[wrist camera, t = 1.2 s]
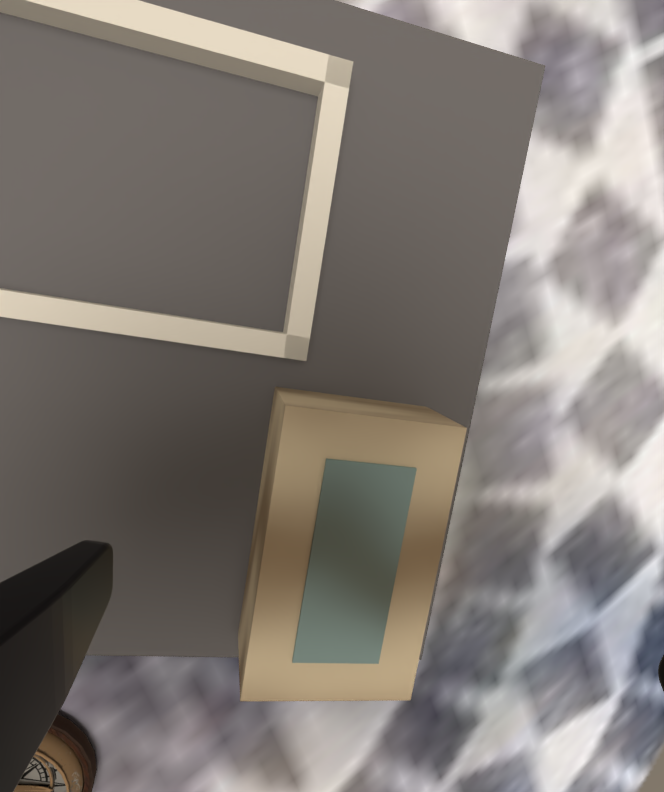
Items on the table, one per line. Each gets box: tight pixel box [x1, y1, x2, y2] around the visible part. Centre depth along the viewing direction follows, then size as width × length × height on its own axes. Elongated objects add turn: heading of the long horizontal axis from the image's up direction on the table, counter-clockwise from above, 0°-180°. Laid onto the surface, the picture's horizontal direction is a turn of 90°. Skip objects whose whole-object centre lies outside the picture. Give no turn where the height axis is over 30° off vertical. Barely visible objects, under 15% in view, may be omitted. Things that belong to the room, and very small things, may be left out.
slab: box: [238, 387, 467, 701], centre depth 18 cm, size 10×6×4 cm, turn 170°
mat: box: [0, 0, 545, 660], centre depth 18 cm, size 24×22×2 cm
